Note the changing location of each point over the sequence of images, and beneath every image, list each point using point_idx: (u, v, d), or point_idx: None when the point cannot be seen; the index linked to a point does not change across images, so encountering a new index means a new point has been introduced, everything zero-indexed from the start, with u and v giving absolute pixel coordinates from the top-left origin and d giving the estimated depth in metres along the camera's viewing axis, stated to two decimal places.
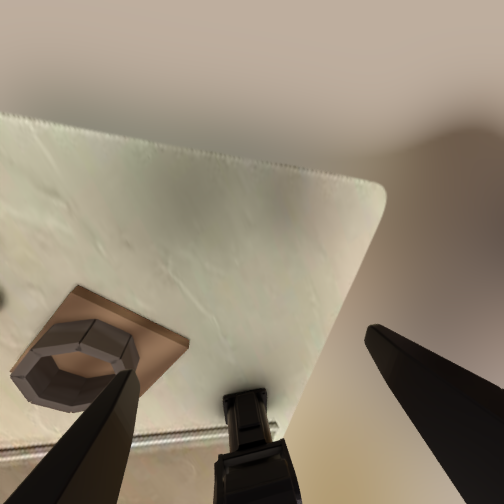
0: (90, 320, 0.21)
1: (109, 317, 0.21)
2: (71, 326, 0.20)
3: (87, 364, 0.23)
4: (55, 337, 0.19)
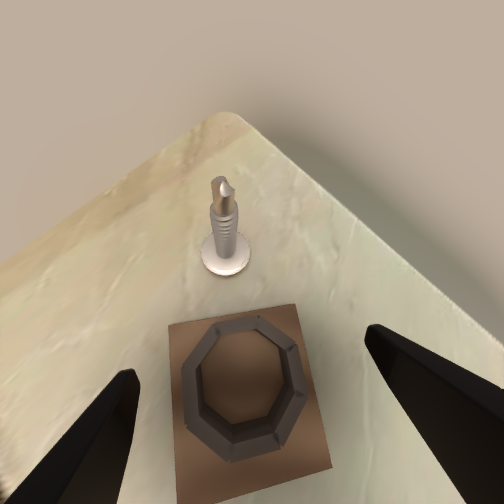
0: None
1: (297, 349, 0.20)
2: None
3: (225, 382, 0.18)
4: None
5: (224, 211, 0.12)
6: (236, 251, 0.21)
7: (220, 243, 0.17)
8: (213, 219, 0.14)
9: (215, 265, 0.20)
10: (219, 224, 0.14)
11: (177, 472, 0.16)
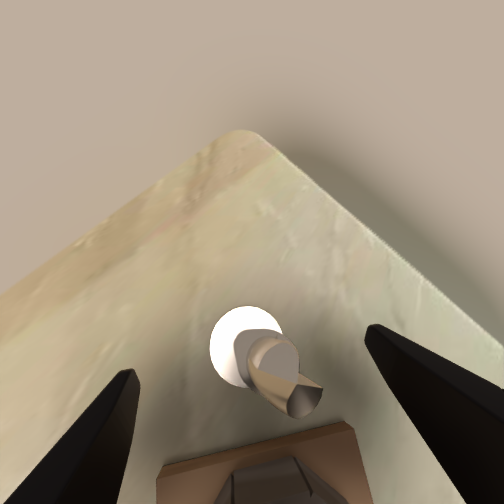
0: (343, 497, 0.12)
1: None
2: (325, 486, 0.12)
3: None
4: (325, 493, 0.11)
5: None
6: None
7: None
8: None
9: (232, 373, 0.13)
10: None
11: None
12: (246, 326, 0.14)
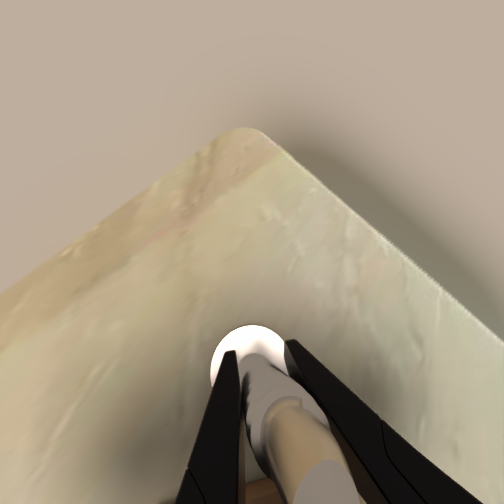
0: None
1: None
2: None
3: None
4: None
5: None
6: None
7: None
8: None
9: None
10: None
11: None
12: (251, 349, 0.12)
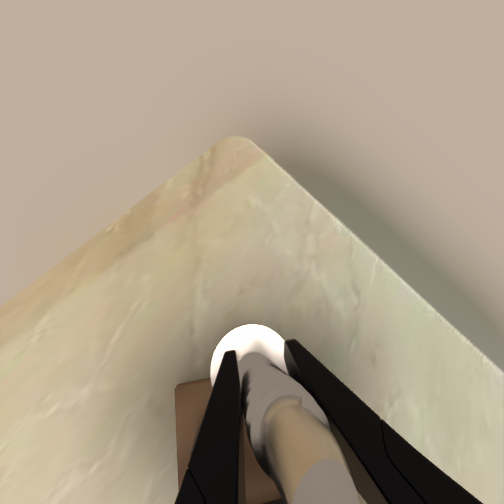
0: None
1: None
2: None
3: None
4: None
5: None
6: None
7: None
8: None
9: None
10: None
11: None
12: (251, 348, 0.12)
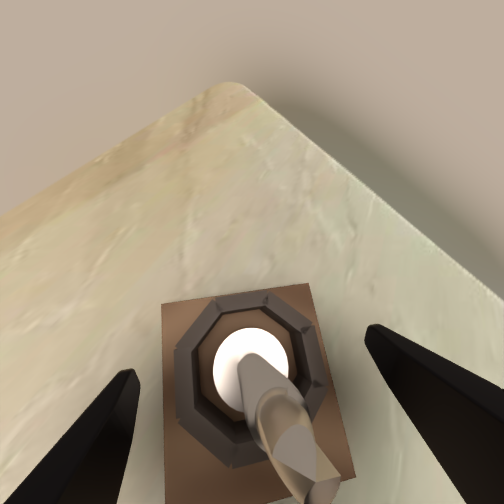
0: None
1: None
2: None
3: None
4: None
5: None
6: None
7: None
8: None
9: (236, 398, 0.13)
10: None
11: (167, 479, 0.13)
12: (250, 349, 0.14)
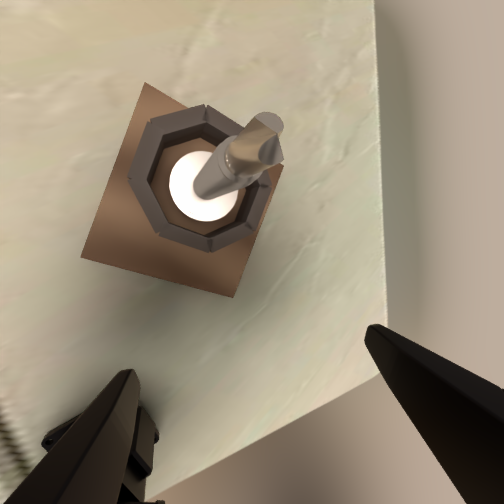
0: None
1: None
2: None
3: None
4: None
5: (242, 172, 0.07)
6: (218, 196, 0.15)
7: (205, 186, 0.11)
8: (216, 163, 0.08)
9: (183, 198, 0.15)
10: (220, 177, 0.08)
11: (94, 226, 0.15)
12: None
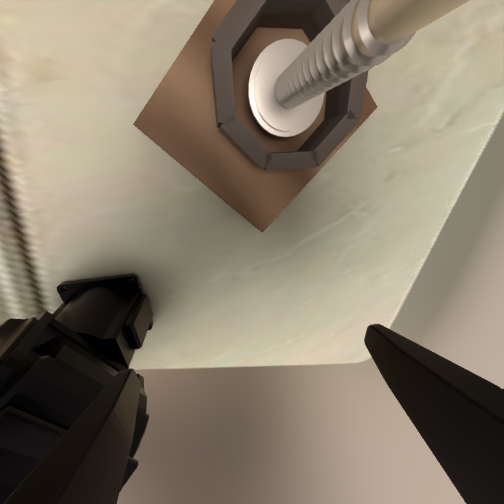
0: None
1: None
2: None
3: None
4: None
5: (390, 22, 0.05)
6: (296, 108, 0.13)
7: (300, 73, 0.09)
8: (350, 13, 0.06)
9: (259, 94, 0.13)
10: (346, 38, 0.06)
11: (155, 94, 0.14)
12: None
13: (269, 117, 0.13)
